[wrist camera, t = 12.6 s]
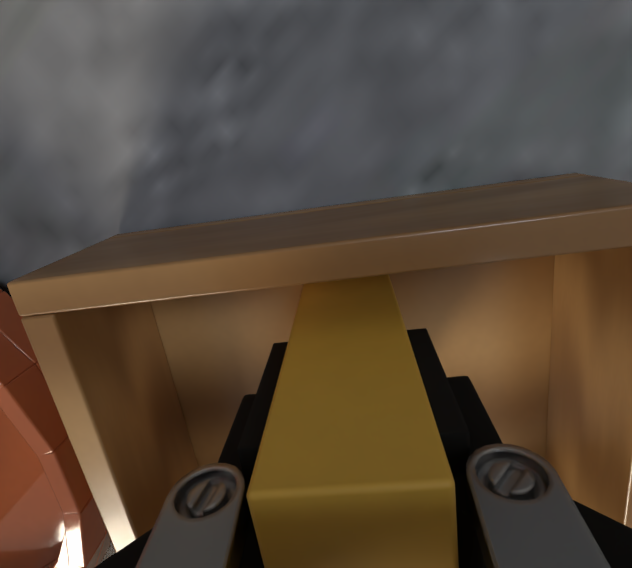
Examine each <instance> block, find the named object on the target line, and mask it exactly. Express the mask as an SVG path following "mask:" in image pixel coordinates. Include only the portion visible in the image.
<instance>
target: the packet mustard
mask: <svg viewBox="0 0 632 568" xmlns="http://www.w3.org/2000/svg"><path fill="white" fill-rule="evenodd" d="M246 497H247V501H248V505H249V509H250V513H251V517H252V520H253V524H254V528H255V532H256V536H257V540H258V544H259V548H260V552H261V556H262V560H263V564H264V568H459V562H458V539H457V517H456V495H455V481H454V478H453V475H452V472H451V469H450V466H449V463H448V459H447V456H446V453H445V450H444V447H443V444H442V441H441V437H440V434H439V431H438V428H437V425H436V422H435V419H434V415H433V412H432V409H431V406H430V403H429V400H428V397H427V393H426V390H425V387H424V384H423V381H422V378H421V375H420V371H419V368H418V365H417V362H416V359H415V356H414V352H413V349H412V346H411V343H410V340H409V337H408V334H407V330H406V327H405V324H404V321H403V318H402V315H401V312H400V308H399V305H398V302H397V299H396V296H395V293H394V290H393V286H392V283H391V280H390V277H389V275H380V276H371V277H362V278H354V279H345V280H336V281H328V282H319V283H310V284H304V285H303V289H302V293H301V296H300V300H299V304H298V307H297V311H296V315H295V318H294V322H293V326H292V329H291V333H290V337H289V340H288V344H287V348H286V351H285V355H284V359H283V362H282V366H281V370H280V373H279V377H278V381H277V384H276V388H275V392H274V395H273V399H272V403H271V406H270V410H269V414H268V418H267V421H266V425H265V429H264V432H263V436H262V440H261V443H260V447H259V451H258V454H257V458H256V462H255V465H254V469H253V473H252V476H251V480H250V484H249V487H248V491H247V495H246Z"/></svg>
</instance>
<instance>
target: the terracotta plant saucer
mask: <svg viewBox="0 0 632 568" xmlns="http://www.w3.org/2000/svg"><path fill="white" fill-rule="evenodd" d="M22 317H24V316H20V315H19V314H18V311H17V309H16V307H15V304H14V302H13V299H12V297H11V296H10V295H9V294H8V293H6V292H5V291H3V290H2V289H0V568H94V567H96V566H97V565H99V564H100V563H101V561H102V559H103V557H104V556H105V554H106V552H107V550H108V549H109V547H110V544H111V540H110V537H109V535H108V532H107V530H106V528H105V525H104V523H103V520H102V518H101V515H100V513H99V510H98V508H97V505H96V503H95V500H94V498H93V496H92V493H91V491H90V488H89V486H88V483H87V481H86V478H85V476H84V473H83V471H82V469H81V466H80V464H79V461H78V459H77V456H76V454H75V451H74V449H73V446H72V444H71V442H70V439H69V437H68V434H67V432H66V429H65V427H64V424H63V422H62V419H61V417H60V415H59V412H58V410H57V407H56V405H55V402H54V400H53V397H52V395H51V392H50V390H49V387H48V385H47V383H46V380H45V378H44V375H43V373H42V370H41V368H40V365H39V363H38V360H37V358H36V356H35V353H34V351H33V348H32V346H31V343H30V341H29V338H28V336H27V333H26V331H25V329H24V326H23V324H22V321H21V319H22Z"/></svg>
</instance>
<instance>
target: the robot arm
mask: <svg viewBox="0 0 632 568" xmlns="http://www.w3.org/2000/svg"><path fill="white" fill-rule="evenodd" d="M407 334H408V337H409V340H410V343H411V346H412V349H413V352H414V356H415V359H416V362H417V365H418V368H419V371H420V375H421V378H422V381H423V384H424V387H425V390H426V393H427V397H428V400H429V403H430V406H431V409H432V412H433V415H434V419H435V422H436V425H437V428H438V431H439V434H440V437H441V441H442V444H443V447H444V450H445V453H446V456H447V459H448V463H449V466H450V469H451V472H452V475H453V478H454V481H455V495H456V517H457V539H458V562H459V568H632V528H630V527H628V526H626V525H624V524H622V523H619V522H617V521H615V520H613V519H611V518H609V517H607V516H605V515H603V514H601V513H599V512H597V511H595V510H593V509H591V508H589V507H587V506H585V505H583V504H580V503H578V502H576V501H574V500H572V498H571V496H570V494H569V493H568V491H567V489H566V487H565V486H564V484H563V482H562V480H561V479H560V477H559V475H558V473H557V472H556V470H555V469H554V468H553V467H552V465H551V464H550V463H549V462H548V461H547V460H546V459H544V458H543V457H542V456H540V455H539V454H537V453H535V452H533V451H531V450H529V449H527V448H524V447H520V446H516V445H512V444H503V443H502V441H501V439H500V437H499V435H498V433H497V431H496V429H495V427H494V425H493V423H492V421H491V419H490V417H489V415H488V413H487V411H486V409H485V408H484V406H483V404H482V402H481V400H480V398H479V396H478V394H477V392H476V390H475V388H474V386H473V384H472V382H471V380H470V379H469V377H468V376H456V377H447V376H446V374H445V372H444V369H443V367H442V364H441V362H440V360H439V357H438V355H437V353H436V350H435V348H434V345H433V343H432V341H431V338H430V336H429V333H428V331H427V329H426V328H421V329H411V330H407ZM287 344H288V342H280V343H274V344H273V346H272V349H271V352H270V355H269V358H268V361H267V364H266V367H265V369H264V372H263V375H262V378H261V381H260V384H259V387H258V390H257V393H256V394H248V395H245V396H244V397H243V399H242V401H241V404H240V406H239V409H238V411H237V414H236V417H235V419H234V422H233V424H232V427H231V429H230V432H229V434H228V437H227V440H226V442H225V445H224V447H223V450H222V452H221V455H220V458H219V460H218V463H212V464H207V465H203V466H201V467H199V468H196V469H194V470H192V471H190V472H189V473H187V474H186V475H184V476H183V477H182V478H181V479H180V480H179V481H178V482H177V483H176V484H175V485H174V486H173V487H172V489H171V491H170V492H169V494H168V495H167V498H166V500H165V502H164V504H163V507H162V509H161V511H160V513H159V516H158V518H157V520H156V522H155V525H154V527H153V528H152V529H150V530H149V531H148V532H146V533H145V534H143V535H142V536H140V537H139V538H137V539H136V540H134V541H133V542H131V543H130V544H128V545H127V546H125V547H124V548H122V549H121V550H119V551H118V552H116V553H115V554H114V555H112V556H111V557H109V558H108V559H106V560H105V561H103V562H102V563H100V564H99V565H97V566H96V567H94V568H264V564H263V560H262V556H261V552H260V548H259V544H258V540H257V536H256V532H255V528H254V524H253V520H252V517H251V513H250V509H249V505H248V501H247V497H246V495H247V491H248V487H249V484H250V480H251V476H252V473H253V469H254V465H255V462H256V458H257V454H258V451H259V447H260V443H261V440H262V436H263V432H264V429H265V425H266V421H267V418H268V414H269V410H270V406H271V403H272V399H273V395H274V392H275V388H276V384H277V381H278V377H279V373H280V370H281V366H282V362H283V359H284V355H285V351H286V348H287Z"/></svg>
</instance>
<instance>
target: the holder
mask: <svg viewBox="0 0 632 568" xmlns="http://www.w3.org/2000/svg"><path fill="white" fill-rule="evenodd" d="M380 275H389V277H390V280H391V283H392V286H393V290H394V293H395V296H396V299H397V302H398V305H399V308H400V312H401V315H402V318H403V321H404V324H405V327H406V330H411V329H421V328H426V329H427V331H428V333H429V336H430V338H431V341H432V343H433V345H434V348H435V350H436V353H437V355H438V357H439V360H440V362H441V364H442V367H443V369H444V372H445V374H446V376H447V377H456V376H468V377H469V379H470V380H471V382H472V384H473V386H474V388H475V390H476V392H477V394H478V396H479V398H480V400H481V402H482V404H483V406H484V408H485V409H486V411H487V413H488V415H489V417H490V419H491V421H492V423H493V425H494V427H495V429H496V431H497V433H498V435H499V437H500V439H501V441H502V443H503V444H512V445H516V446H520V447H524V448H527V449H529V450H531V451H533V452H535V453H537V454H539V455H540V456H542V457H543V458H544V459H546V460H547V461H548V462H549V463H550V464H551V465H552V467H553V468H554V469H555V470H556V472H557V473H558V475H559V477H560V479H561V480H562V482H563V484H564V486H565V487H566V489H567V491H568V493H569V494H570V496H571V498H572V500H574V501H576V502H578V503H580V504H583V505H585V506H587V507H589V508H591V509H593V510H595V511H597V512H599V513H601V514H603V515H605V516H607V517H609V518H611V519H613V520H615V521H617V522H619V523H622V524H624V525H626V526H628V527H630V528H632V182H627V181H621V180H614V179H608V178H602V177H596V176H590V175H585V174H578V173H572V174H564V175H557V176H549V177H542V178H534V179H527V180H519V181H512V182H504V183H497V184H489V185H482V186H474V187H467V188H460V189H452V190H445V191H437V192H430V193H422V194H415V195H407V196H400V197H392V198H385V199H377V200H370V201H363V202H355V203H348V204H340V205H333V206H325V207H318V208H310V209H303V210H295V211H288V212H280V213H273V214H265V215H258V216H251V217H243V218H236V219H228V220H221V221H213V222H206V223H198V224H191V225H183V226H176V227H168V228H161V229H153V230H146V231H139V232H131V233H124V234H117V235H115V236H113V237H110V238H109V239H106V240H104V241H101V242H99V243H97V244H95V245H92V246H90V247H88V248H85V249H83V250H81V251H79V252H76V253H74V254H72V255H70V256H67V257H65V258H63V259H60V260H58V261H56V262H54V263H51V264H49V265H47V266H44V267H42V268H40V269H38V270H35V271H33V272H31V273H28V274H26V275H24V276H22V277H19V278H17V279H15V280H13V281H10V282H9V283H8V284H7V287H8V289H9V292H10V294H11V297H12V299H13V302H14V304H15V307H16V309H17V311H18V314H19V315H20V316H24V317H22V319H21V321H22V324H23V326H24V329H25V331H26V333H27V336H28V338H29V341H30V343H31V346H32V348H33V351H34V353H35V356H36V358H37V360H38V363H39V365H40V368H41V370H42V373H43V375H44V378H45V380H46V383H47V385H48V387H49V390H50V392H51V395H52V397H53V400H54V402H55V405H56V407H57V410H58V412H59V415H60V417H61V419H62V422H63V424H64V427H65V429H66V432H67V434H68V437H69V439H70V442H71V444H72V446H73V449H74V451H75V454H76V456H77V459H78V461H79V464H80V466H81V469H82V471H83V473H84V476H85V478H86V481H87V483H88V486H89V488H90V491H91V493H92V496H93V498H94V500H95V503H96V505H97V508H98V510H99V513H100V515H101V518H102V520H103V523H104V525H105V528H106V530H107V532H108V535H109V537H110V540H111V542H112V545H113V547H114V550H115V552H118V551H119V550H121V549H122V548H124V547H125V546H127V545H128V544H130V543H131V542H133V541H134V540H136V539H137V538H139V537H140V536H142V535H143V534H145V533H146V532H148V531H149V530H150V529H152V528H153V527H154V525H155V522H156V520H157V518H158V516H159V513H160V511H161V509H162V507H163V504H164V502H165V500H166V498H167V495H168V494H169V492H170V491H171V489H172V487H173V486H174V485H175V484H176V483H177V482H178V481H179V480H180V479H181V478H182V477H183V476H184V475H186V474H187V473H189V472H190V471H192V470H194V469H196V468H199V467H201V466H203V465H207V464H212V463H218V460H219V458H220V455H221V452H222V450H223V447H224V445H225V442H226V440H227V437H228V434H229V432H230V429H231V427H232V424H233V422H234V419H235V417H236V414H237V411H238V409H239V406H240V404H241V401H242V399H243V397H244V396H245V395H248V394H256V393H257V390H258V387H259V384H260V381H261V378H262V375H263V372H264V369H265V367H266V364H267V361H268V358H269V355H270V352H271V349H272V346H273V344H274V343H280V342H288V340H289V337H290V333H291V329H292V326H293V322H294V318H295V315H296V311H297V307H298V304H299V300H300V296H301V293H302V289H303V285H304V284H310V283H319V282H328V281H336V280H345V279H354V278H362V277H371V276H380Z"/></svg>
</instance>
